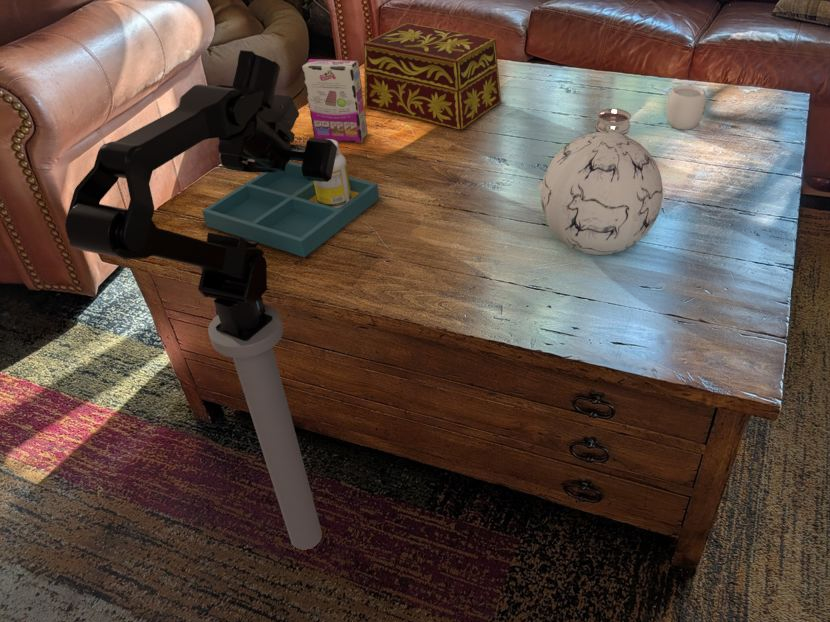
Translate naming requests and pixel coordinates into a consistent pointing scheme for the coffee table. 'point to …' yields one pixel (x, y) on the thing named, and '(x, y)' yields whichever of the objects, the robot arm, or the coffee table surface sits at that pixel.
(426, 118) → the decorative box
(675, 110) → the mug
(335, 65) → the candy bar box
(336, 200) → the pill bottle
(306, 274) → the coffee table surface
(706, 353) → the coffee table surface
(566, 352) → the coffee table surface
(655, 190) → the decorative sphere
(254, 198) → the tray
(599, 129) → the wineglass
